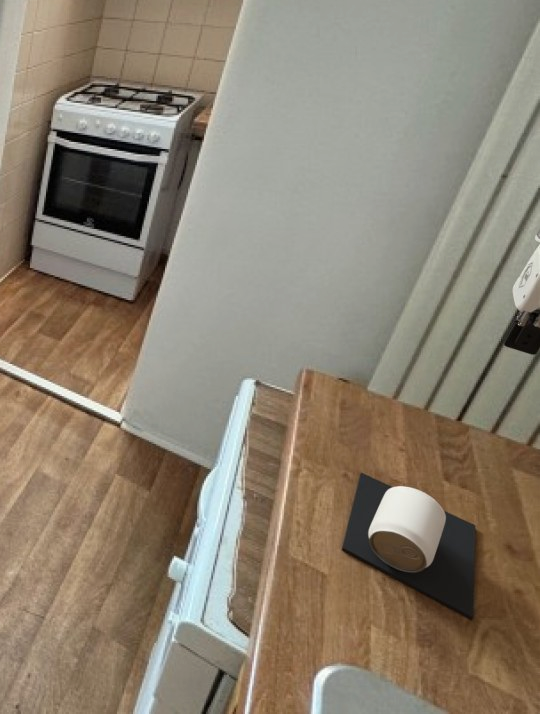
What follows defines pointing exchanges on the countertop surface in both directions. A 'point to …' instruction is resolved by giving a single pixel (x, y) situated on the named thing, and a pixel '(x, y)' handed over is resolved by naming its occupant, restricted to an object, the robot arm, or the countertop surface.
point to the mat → (451, 561)
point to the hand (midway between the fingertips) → (518, 348)
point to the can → (407, 529)
